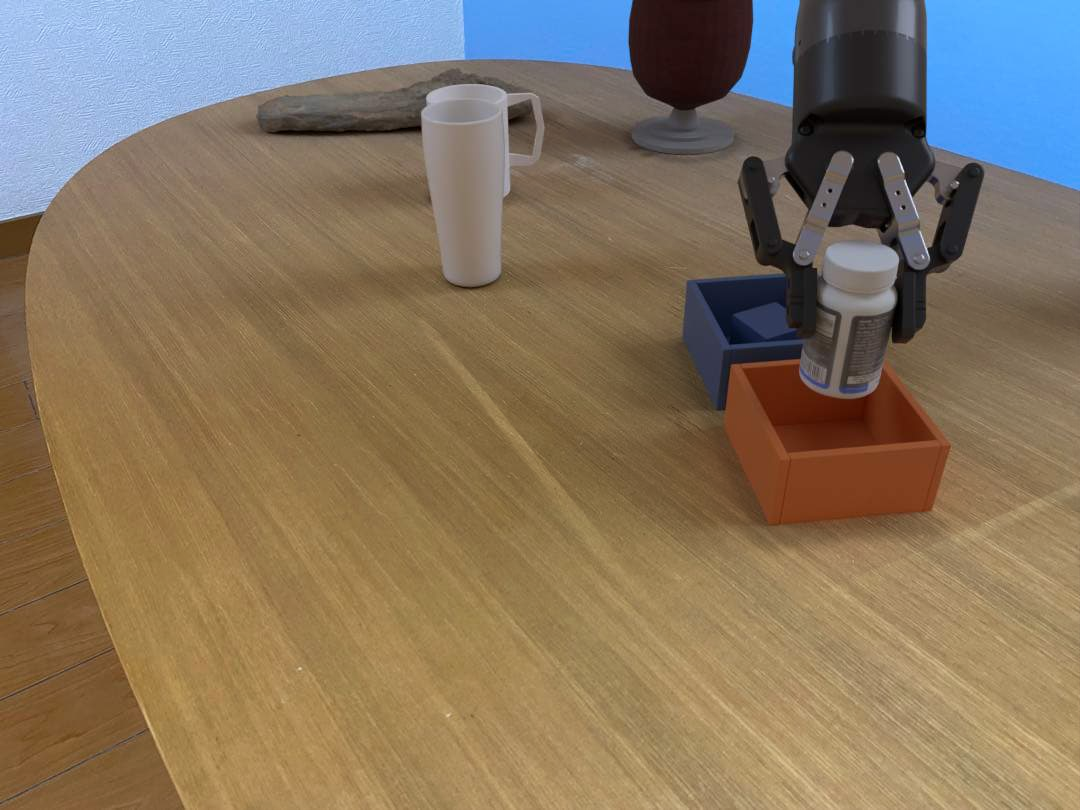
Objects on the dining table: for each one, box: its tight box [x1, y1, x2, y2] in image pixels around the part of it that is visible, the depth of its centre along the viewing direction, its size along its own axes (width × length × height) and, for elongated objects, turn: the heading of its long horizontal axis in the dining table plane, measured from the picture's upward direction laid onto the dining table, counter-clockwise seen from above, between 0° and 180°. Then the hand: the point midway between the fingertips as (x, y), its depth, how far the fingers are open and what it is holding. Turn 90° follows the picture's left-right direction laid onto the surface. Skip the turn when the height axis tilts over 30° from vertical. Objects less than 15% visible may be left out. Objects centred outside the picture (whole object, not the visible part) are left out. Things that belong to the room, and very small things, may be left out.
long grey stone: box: [255, 67, 534, 133], centre depth 119 cm, size 35×5×10 cm
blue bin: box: [681, 272, 821, 411], centre depth 69 cm, size 10×10×6 cm
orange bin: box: [723, 358, 952, 527], centre depth 60 cm, size 10×10×6 cm
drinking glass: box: [420, 98, 505, 288], centre depth 80 cm, size 7×7×15 cm
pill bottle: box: [799, 238, 899, 399], centre depth 55 cm, size 5×5×8 cm
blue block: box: [729, 302, 800, 345], centre depth 69 cm, size 4×4×4 cm
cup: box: [426, 84, 546, 198], centre depth 98 cm, size 8×12×10 cm
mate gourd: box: [627, 0, 754, 156], centre depth 108 cm, size 16×14×20 cm
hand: (854, 336), depth 53 cm, fingers closed on pill bottle, 4 cm apart
